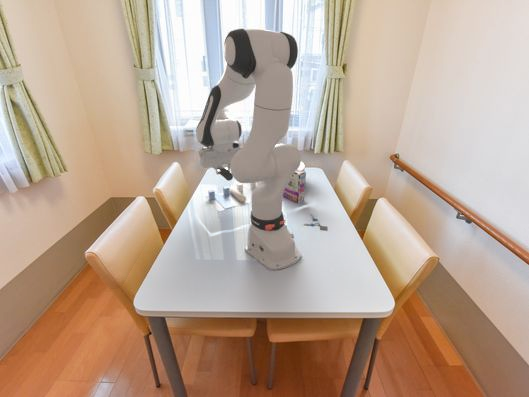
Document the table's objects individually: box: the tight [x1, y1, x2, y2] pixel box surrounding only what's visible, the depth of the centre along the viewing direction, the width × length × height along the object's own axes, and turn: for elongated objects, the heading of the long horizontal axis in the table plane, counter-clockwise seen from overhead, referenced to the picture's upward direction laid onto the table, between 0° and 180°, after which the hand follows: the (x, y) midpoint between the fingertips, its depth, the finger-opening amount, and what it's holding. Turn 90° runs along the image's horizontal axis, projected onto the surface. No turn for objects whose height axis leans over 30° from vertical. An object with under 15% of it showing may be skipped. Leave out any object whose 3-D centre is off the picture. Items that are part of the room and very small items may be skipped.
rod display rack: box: [205, 182, 257, 212], centre depth 137 cm, size 18×28×6 cm, turn 122°
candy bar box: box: [283, 169, 307, 204], centre depth 133 cm, size 11×5×16 cm, turn 42°
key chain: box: [303, 214, 329, 232], centre depth 117 cm, size 14×8×1 cm, turn 27°
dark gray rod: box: [217, 165, 234, 181], centre depth 127 cm, size 16×4×4 cm, turn 31°
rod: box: [228, 186, 246, 202], centre depth 137 cm, size 14×3×3 cm, turn 32°
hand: (223, 173), depth 127 cm, fingers closed on dark gray rod, 4 cm apart
